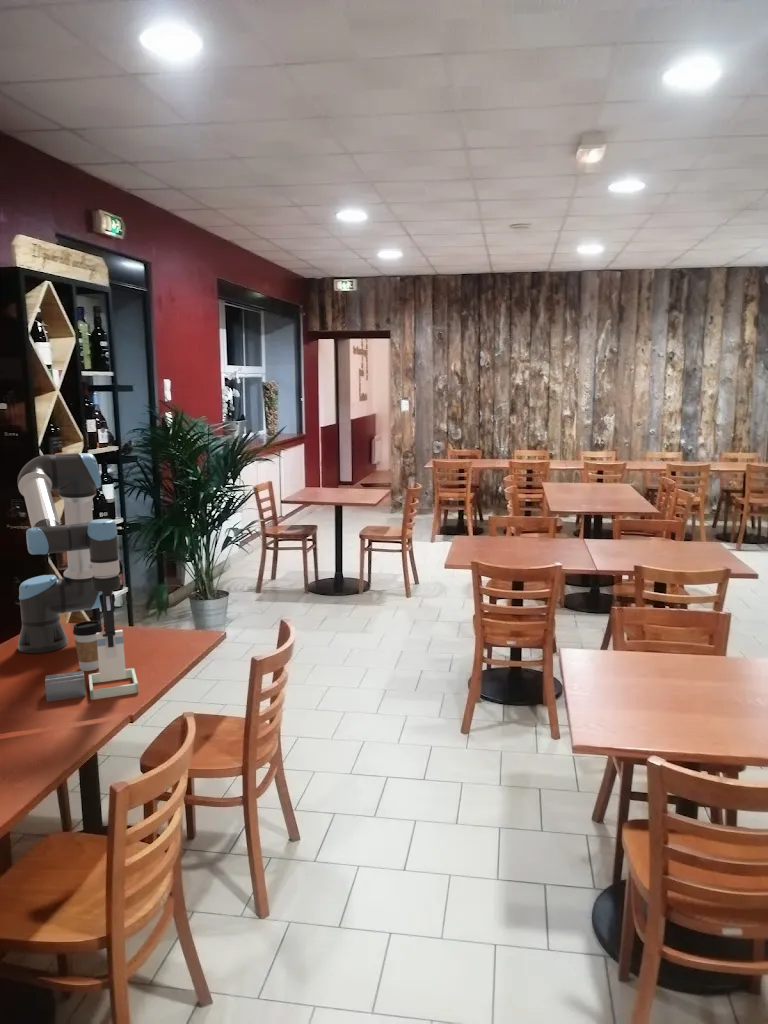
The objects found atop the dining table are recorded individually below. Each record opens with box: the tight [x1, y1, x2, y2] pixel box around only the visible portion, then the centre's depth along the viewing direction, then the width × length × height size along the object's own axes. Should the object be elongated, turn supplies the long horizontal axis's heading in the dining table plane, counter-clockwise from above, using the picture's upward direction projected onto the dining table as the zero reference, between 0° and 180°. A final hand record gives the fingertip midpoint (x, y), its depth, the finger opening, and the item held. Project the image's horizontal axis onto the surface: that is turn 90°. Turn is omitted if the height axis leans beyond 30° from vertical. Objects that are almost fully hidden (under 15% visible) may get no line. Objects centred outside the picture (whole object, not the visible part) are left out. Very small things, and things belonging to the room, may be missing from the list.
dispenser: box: [44, 670, 87, 703], centre depth 218 cm, size 7×10×7 cm
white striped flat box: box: [96, 629, 127, 683], centre depth 221 cm, size 2×7×14 cm, turn 113°
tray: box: [88, 667, 140, 701], centre depth 222 cm, size 14×13×4 cm
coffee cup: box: [72, 620, 103, 672], centre depth 238 cm, size 8×8×15 cm
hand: (111, 655), depth 221 cm, fingers closed on white striped flat box, 2 cm apart
